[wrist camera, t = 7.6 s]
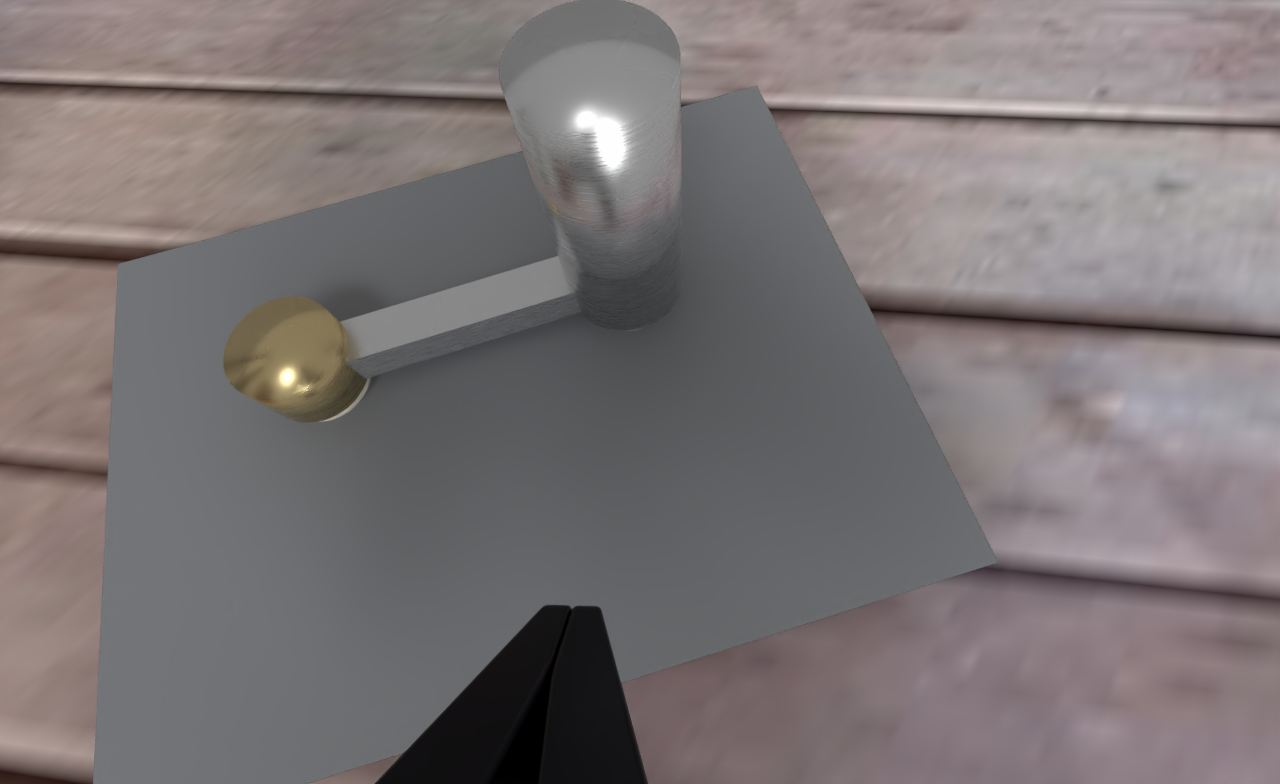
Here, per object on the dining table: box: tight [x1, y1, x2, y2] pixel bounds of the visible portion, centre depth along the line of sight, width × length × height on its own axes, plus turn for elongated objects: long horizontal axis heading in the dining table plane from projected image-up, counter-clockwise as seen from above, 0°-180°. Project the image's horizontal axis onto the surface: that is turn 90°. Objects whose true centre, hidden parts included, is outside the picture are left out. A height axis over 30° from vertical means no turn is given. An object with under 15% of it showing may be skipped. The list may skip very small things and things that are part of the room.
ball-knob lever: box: [223, 0, 682, 423], centre depth 15 cm, size 13×4×8 cm, turn 107°
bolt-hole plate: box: [93, 86, 998, 784], centre depth 19 cm, size 24×18×1 cm
